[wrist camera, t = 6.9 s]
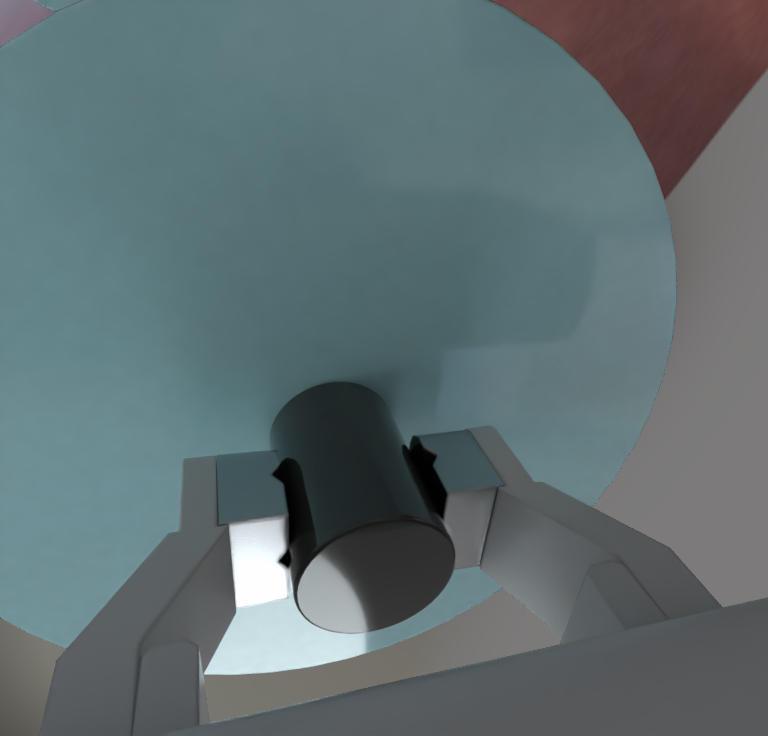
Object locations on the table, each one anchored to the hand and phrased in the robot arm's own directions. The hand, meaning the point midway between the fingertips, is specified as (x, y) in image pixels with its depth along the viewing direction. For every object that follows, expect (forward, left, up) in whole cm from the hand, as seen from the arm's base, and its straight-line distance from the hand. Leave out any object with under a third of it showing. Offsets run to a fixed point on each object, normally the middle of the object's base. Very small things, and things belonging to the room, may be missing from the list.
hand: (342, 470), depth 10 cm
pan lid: (0, 0, -2) cm, 2 cm away
